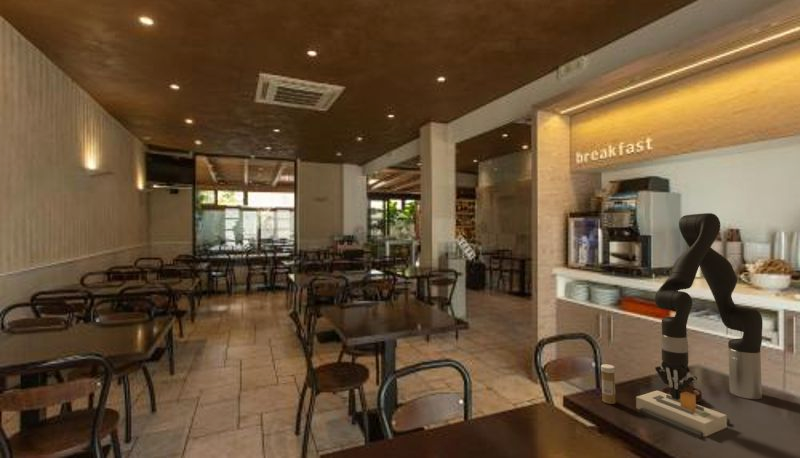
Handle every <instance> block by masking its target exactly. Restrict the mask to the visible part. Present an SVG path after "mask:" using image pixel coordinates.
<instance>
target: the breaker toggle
mask: <svg viewBox="0 0 800 458" xmlns="http://www.w3.org/2000/svg"><path fill="white" fill-rule="evenodd" d="M680 397H681V407H684V408H686V409H689V410H695V409H696V404H697V402H696V395H694V394H691V393H688V392H683V393H680Z"/></svg>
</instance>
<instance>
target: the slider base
mask: <svg viewBox="0 0 800 458" xmlns="http://www.w3.org/2000/svg"><path fill="white" fill-rule="evenodd" d="M635 401H636V402H635V403H636V405H635V407H636V409H637V410H640V408H644V409H647V410H649V411H652V412H654V413H657V414H659V415H661V416H664V417H666V418H669V419H671V420H674V421H676V422H679V423H681V424H683V425H686V426H688V427H691V428H693V429H696V430H698V431H700V432H703V436H702V437H708V436H710V435H713V434H715V433H717V432H719V431H722V430H724V429H726V428H727V427H728V426H727V419H728V418H727V414H724V413H722V412H719V411H717V410H713V409H712V408H708V407H705V406H702V405H699V404H697V403H696V409H695V410H689V409H686V408H684V407H681V399H679V400H676V399H673V398H672V396H671V395H669V394H666V393H663V391H660V390H654V391H651V392H647V393H645V394H641V395H637V396H636V397H635Z"/></svg>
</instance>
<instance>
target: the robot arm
mask: <svg viewBox="0 0 800 458" xmlns="http://www.w3.org/2000/svg"><path fill="white" fill-rule="evenodd" d="M678 229H679V232H680V234H681V236H682V238H683V239H684V241H685V243H686V244H687V246H688V249H687V250H686V251H684V252H683V253H682V254H681V255H679V257H678V258H676V260H675V262H674V263H673V266H672V268H671V271H670V273H669V275H668V278H667V279H666V280H665V281H664V282H663V284H662V285H661V286H660V287H659V288H658V289H657V291H656V292H655V295H654V302H655V305H656V307H657V308H659V309H660V310H664V311H670V312H675V314H674V316H667V317H663V318H662V319H661V344H660V346H661V365H658V366H656V367H654V369H655V371H656V373H657V374H658V375H659V377H660V379H661V380H662V382H663V383H664V384H665V385H668V387H670V394H671V396H672V398H673V399H676V400H679V399H680V398H681V397H680V393H682V389H685V388H688V387H689V386H690V385H691V384H692V383H693V384H694V383H695V382H696V381H697V380H698V377H697V376H696V375H693V373H691V372H690V368H689V343H688V333H687V324H688V320H689V316H690V313H691V310H692V307H693V298H692V297H691V295H690V294H689V293H688V292H686V291H682V290H688V289H690V288H692V286H693V284H694V281H695V279H696V276H697V273H698V271H699V268H700V271H701V274H702V275H703V277H704V279H705V281H706V283H707V285H708V287H709V289H710V292H711V294H712V297H713V298H714V301H715V304H716V308H717V311H718V313H719V317H720V319H721V322H722V323H723V325H724V326H725V327H726V328H728V329H730V330H732V331H738V332H742V333H743V334H742V337H740V338H732V339H729V340H728V341H727V342H728V372H729V374H728V376H729V378H728V379H729V380H728V382H729V393H731V394H732V395H734V396H737V397H738V398H739V397H740V398H743V399H748V400H760V399H762V398H763V397H762V395H763V391H762V387H763V386H762V362H761V361H762V360H761V359H762V357H761V356H762V355H761V347H762V343H763V316H762V314H761V312H760V311H759V310H757V309H755V308H750V307H743V306H737V305H736V304H735V302H734V300H733V297H732V296H733V293H734V290H735V289H736V286H737V284H738V277H737V274H736V271H735V270H734V267H733V265H732V264H731V262H730V261H729V260H728V259H727V258H726V257H724V256H723V255H722V254H720V253H719V252H718V251H716V250H714V249H713V248H712V245H713V244H714V243H715V241H716V239H717V238H718V235H719V233H720V230H721V221H720V219H719V217H718V215H716V214H715V213H712V212H711V213H710V212H708V213H694V214H693V213H692V214H686V215H683V216H681V217H680V218H679V221H678ZM684 380H686V381H685V382H684V383H683V381H684ZM682 383H683V384H682Z"/></svg>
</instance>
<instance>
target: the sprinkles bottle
mask: <svg viewBox="0 0 800 458" xmlns="http://www.w3.org/2000/svg"><path fill="white" fill-rule="evenodd" d="M600 371H601V393H602V399H601V401H602V402H604V404H605V403H606V404H609V405H613V404H616V383H615V372H616V367H615V366H614V365H612V364H607V363H605V364H604V363H603V364H601V365H600Z"/></svg>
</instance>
